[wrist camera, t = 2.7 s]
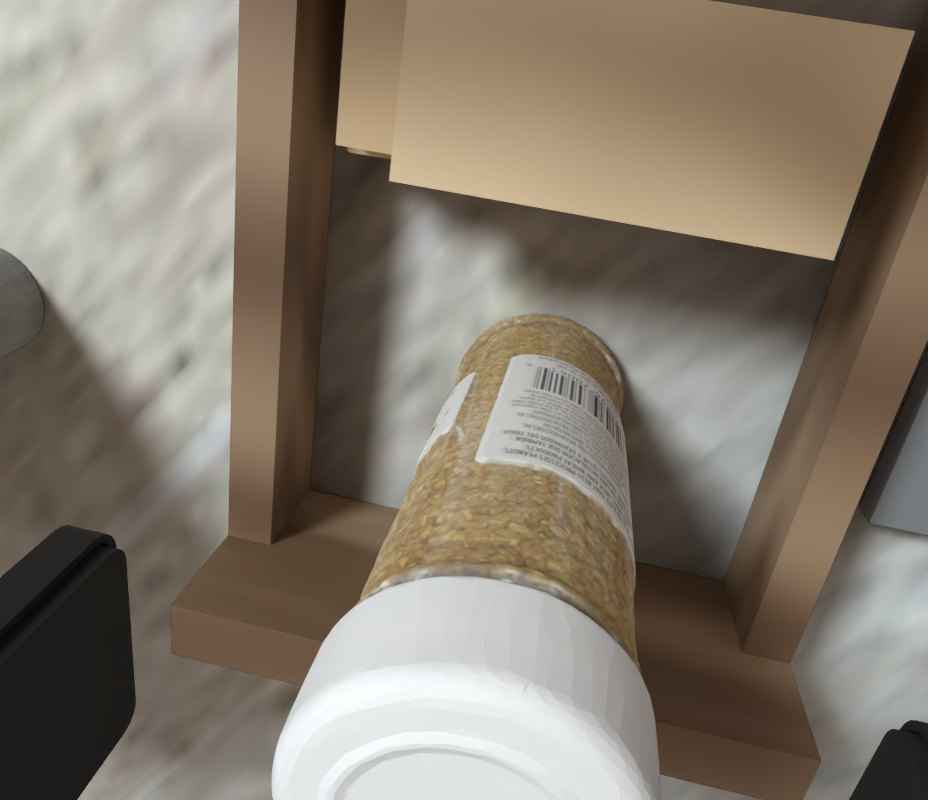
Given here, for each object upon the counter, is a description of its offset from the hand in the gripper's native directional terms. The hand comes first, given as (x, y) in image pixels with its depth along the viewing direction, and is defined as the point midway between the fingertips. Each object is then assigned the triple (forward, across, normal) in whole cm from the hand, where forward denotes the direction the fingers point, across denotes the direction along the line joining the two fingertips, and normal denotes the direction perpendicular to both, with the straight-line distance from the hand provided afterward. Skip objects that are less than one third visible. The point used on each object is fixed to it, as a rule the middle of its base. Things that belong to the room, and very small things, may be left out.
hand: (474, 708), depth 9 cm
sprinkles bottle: (+12, 0, +1) cm, 12 cm away
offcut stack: (+12, 0, -6) cm, 14 cm away
